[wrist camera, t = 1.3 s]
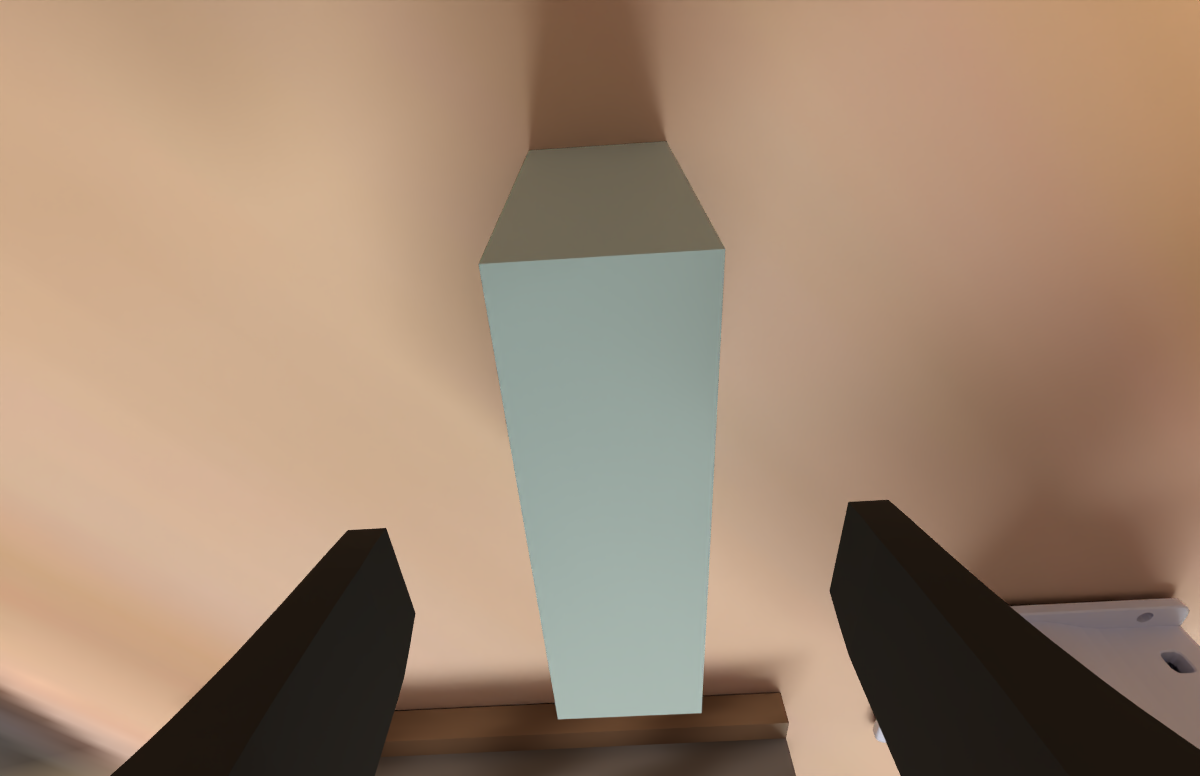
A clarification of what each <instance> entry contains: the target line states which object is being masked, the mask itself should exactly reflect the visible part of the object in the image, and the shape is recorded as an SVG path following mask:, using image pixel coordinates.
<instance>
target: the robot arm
mask: <svg viewBox="0 0 1200 776" xmlns="http://www.w3.org/2000/svg"><path fill="white" fill-rule="evenodd" d="M830 594H831V597H832V601H833V604H834V608H835V611H836V615H837V618H838V622H839V625H840V628H841V632H842V635H843V638H844V641H845V644H846V648H847V651H848V654H849V657H850V659H851V661H852V664H853V666H854V669H855V671H856V673H857V676H858V678H859V680H860V683H861V685H862V687H863V690H864V692H865V694H866V697H867V699H868V701H869V704H870V706H871V708H872V711H873V713H874V715H875V718H876V721H875V724H874V727H873V733H874V735H875V738H876V739H877V740H878V741H880V742H885V743H887V745H888V747H889V750H890V752H891V754H892V757H893V759H894V761H895V764H896V766H897V768H898V770H899V773H900V775H901V776H1200V646H1199V645H1198V644H1197V643H1196V642H1195V641H1194V640H1193V639H1192V638H1191V637H1190V636H1189V635H1188V634H1187V633H1186V632H1185V630H1184V629H1183V628H1182V627H1181V626H1180V625H1181V624H1182V623H1183V621H1184V620H1185V618H1186V617H1187V615H1188V613H1189V609H1188V607H1187V606H1186V605H1185V604H1184V603H1183V602H1182V601H1181V600H1179V599H1176V598H1161V599H1141V600H1121V601H1101V602H1081V603H1062V604H1042V605H1022V606H1009V605H1008V604H1007V603H1005V602H1004V601H1003V600H1002V599H1001V598H999V597H998V596H997V595H996V594H995V593H994V592H992V591H991V590H990V589H989V588H988V587H987V586H985V585H984V584H983V583H982V582H981V581H980V580H978V579H977V578H976V577H975V576H974V575H973V574H971V573H970V572H969V571H968V570H967V569H966V568H965V567H963V566H962V565H961V564H960V563H959V562H958V561H957V560H956V559H954V558H953V557H952V556H951V555H950V554H949V553H948V552H947V551H945V550H944V549H943V548H942V547H941V546H940V545H939V544H937V543H936V542H935V541H934V540H933V539H932V538H931V537H930V536H929V535H927V534H926V533H925V532H924V531H923V530H922V529H921V528H920V527H918V526H917V525H916V524H915V523H914V522H913V521H912V520H911V519H910V518H908V517H907V516H906V515H905V514H904V513H903V512H902V511H901V510H899V509H898V508H897V507H896V506H895V505H894V504H892V503H891V502H890V501H889V500H878V501H860V502H848V507H847V511H846V516H845V521H844V526H843V530H842V535H841V540H840V544H839V549H838V554H837V558H836V563H835V568H834V573H833V577H832V582H831V587H830ZM414 618H415V611H414V608H413V605H412V602H411V599H410V596H409V593H408V590H407V587H406V584H405V582H404V579H403V576H402V573H401V570H400V567H399V564H398V561H397V558H396V555H395V552H394V550H393V547H392V544H391V541H390V538H389V535H388V532H387V529H386V528H380V529H362V530H348V531H347V532H346V533H345V534H344V535H343V536H342V537H341V538H340V539H339V540H338V542H337V543H336V544H335V545H334V546H333V547H332V548H331V549H330V550H329V551H328V552H327V554H326V555H325V556H324V557H323V558H322V559H321V560H320V561H319V562H318V564H317V565H316V566H315V567H314V568H313V569H312V570H311V571H310V573H309V574H308V575H307V576H306V577H305V578H304V579H303V580H302V582H301V583H300V584H299V585H298V586H297V587H296V588H295V589H294V590H293V592H292V593H291V594H290V595H289V596H288V597H287V598H286V599H285V601H284V602H283V603H282V604H281V605H280V606H279V607H278V608H277V609H276V611H275V612H274V613H273V614H272V615H271V616H270V617H269V618H268V619H267V620H266V621H265V622H264V624H263V625H262V626H261V627H260V628H259V629H258V630H257V631H256V632H255V633H254V634H253V635H252V636H251V638H250V639H249V640H248V641H247V642H246V643H245V644H244V645H243V646H242V647H241V648H240V649H239V651H238V652H237V653H236V654H235V655H234V656H233V657H232V658H231V659H230V660H229V661H228V662H227V663H226V664H225V665H224V666H223V667H222V668H221V669H220V670H219V671H218V672H217V673H216V674H215V675H214V676H213V677H212V678H211V679H210V680H209V681H208V682H207V683H206V684H205V686H204V687H203V688H202V689H201V690H200V691H199V692H198V693H197V694H196V695H195V696H194V697H193V698H192V699H191V700H190V701H189V702H188V703H187V704H186V705H185V706H184V707H183V708H182V709H181V710H180V711H179V712H178V713H177V714H176V715H175V716H174V717H173V718H172V719H171V720H170V721H169V722H168V723H167V724H166V725H165V726H163V727H162V728H161V729H160V730H159V731H158V732H157V733H156V734H155V735H154V736H153V737H152V738H151V739H150V740H149V741H148V742H147V743H146V744H144V745H143V746H142V747H141V748H140V749H139V750H138V751H137V752H136V753H135V754H134V755H133V756H132V757H131V758H129V759H128V760H127V761H126V762H125V763H124V764H123V765H122V766H121V767H119V768H118V769H117V770H116V771H115V772H114V773H113V774H112V775H110V776H375V774H376V770H377V767H378V764H379V760H380V757H381V754H382V750H383V747H384V744H385V741H386V737H387V734H388V731H389V727H390V724H391V720H392V717H393V714H394V710H395V707H396V704H397V700H398V697H399V693H400V690H401V686H402V683H403V679H404V675H405V669H406V664H407V659H408V654H409V648H410V642H411V636H412V630H413V624H414Z"/></svg>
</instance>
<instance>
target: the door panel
mask: <svg viewBox="0 0 1200 776" xmlns="http://www.w3.org/2000/svg"><path fill="white" fill-rule="evenodd" d="M724 263H725V248H724V246H723V244H722V242H721V240H720V238H719V237H718V235H717V233H716V231H715V229H714V228H713V226H712V224H711V222H710V220H709V218H708V217H707V215H706V213H705V211H704V209H703V207H702V206H701V204H700V202H699V200H698V198H697V196H696V195H695V193H694V191H693V189H692V187H691V185H690V184H689V182H688V180H687V178H686V176H685V174H684V173H683V171H682V169H681V167H680V165H679V164H678V162H677V160H676V158H675V156H674V154H673V153H672V151H671V149H670V147H669V145H668V143H667V142H666V141H662V142H647V143H632V144H617V145H602V146H587V147H572V148H557V149H541V150H529V151H528V154H527V156H526V158H525V160H524V163H523V165H522V167H521V169H520V172H519V174H518V176H517V178H516V181H515V183H514V185H513V187H512V190H511V192H510V194H509V197H508V199H507V201H506V203H505V206H504V208H503V210H502V212H501V215H500V217H499V219H498V221H497V224H496V226H495V228H494V230H493V233H492V235H491V237H490V239H489V242H488V244H487V246H486V249H485V251H484V253H483V255H482V258H481V260H480V262H479V269H480V275H481V281H482V286H483V292H484V298H485V304H486V309H487V315H488V321H489V327H490V332H491V338H492V344H493V350H494V355H495V361H496V367H497V372H498V378H499V384H500V390H501V395H502V401H503V407H504V413H505V418H506V424H507V430H508V436H509V441H510V447H511V453H512V459H513V464H514V470H515V476H516V481H517V487H518V493H519V499H520V504H521V510H522V516H523V522H524V527H525V533H526V539H527V545H528V550H529V556H530V562H531V567H532V573H533V579H534V585H535V590H536V596H537V602H538V608H539V613H540V619H541V625H542V631H543V636H544V642H545V648H546V654H547V659H548V665H549V671H550V676H551V682H552V688H553V694H554V699H555V705H556V711H557V717H558V719H578V718H601V717H624V716H646V715H669V714H692V713H702V694H703V674H704V655H705V635H706V616H707V596H708V577H709V557H710V537H711V518H712V498H713V479H714V459H715V439H716V420H717V400H718V381H719V361H720V341H721V322H722V302H723V283H724Z"/></svg>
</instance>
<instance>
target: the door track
mask: <svg viewBox="0 0 1200 776" xmlns="http://www.w3.org/2000/svg"><path fill="white" fill-rule="evenodd" d="M788 725H789V722H788V718H787V714H786V711H785V707H784V704H783V700H782V696H781V693H765V694H744V695H723V696H703V697H702V713H692V714H669V715H646V716H624V717H601V718H578V719H558V717H557V711H556V705H555V704H535V705H514V706H494V707H473V708H452V709H431V710H410V711H394V714H393V717H392V720H391V724H390V727H389V731H388V734H387V737H386V741H385V744H384V747H383V750H382V754H381V757H380V760H379V764H378V767H377V770H376V774H375V776H796V774H795V771H794V767H793V763H792V759H791V756H790V752H789V748H788V744H787V741H786V735H787V730H788Z"/></svg>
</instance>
